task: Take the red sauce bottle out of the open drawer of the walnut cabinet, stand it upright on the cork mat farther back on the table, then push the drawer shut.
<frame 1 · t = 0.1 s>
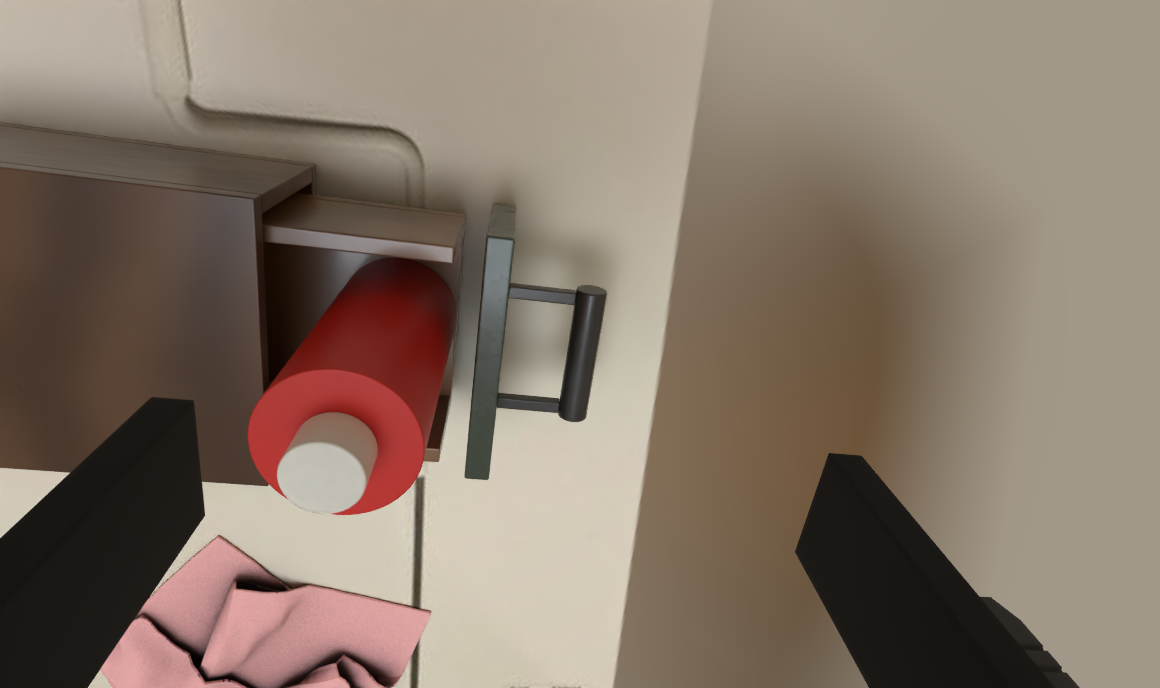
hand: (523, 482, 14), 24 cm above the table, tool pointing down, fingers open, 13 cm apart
cloth: (281, 656, 47), on the table
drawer: (404, 330, 33), point 4 cm above the table, slide at 9.0 cm, touching sauce bottle
sauce bottle: (399, 312, 35), point 2 cm above the table, touching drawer
cabinet: (165, 273, 35), on the table
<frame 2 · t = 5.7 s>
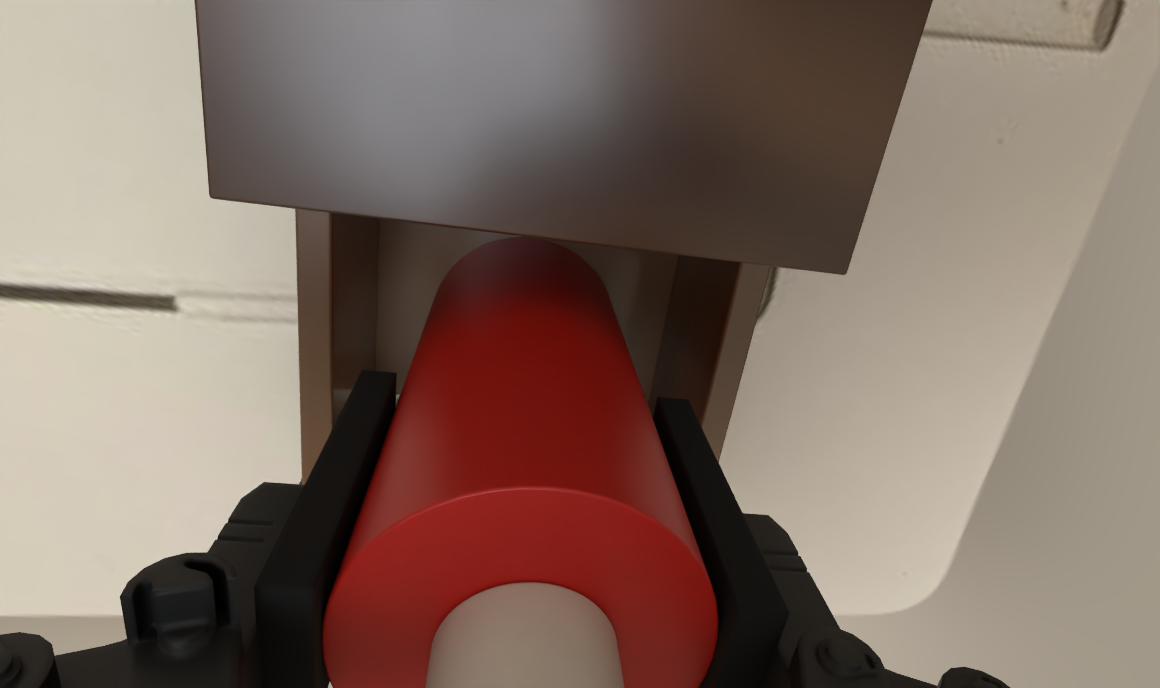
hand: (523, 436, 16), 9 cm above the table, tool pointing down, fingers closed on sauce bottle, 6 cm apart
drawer: (520, 373, 20), point 4 cm above the table, slide at 9.0 cm, touching sauce bottle
sauce bottle: (523, 325, 22), point 2 cm above the table, touching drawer, gripper
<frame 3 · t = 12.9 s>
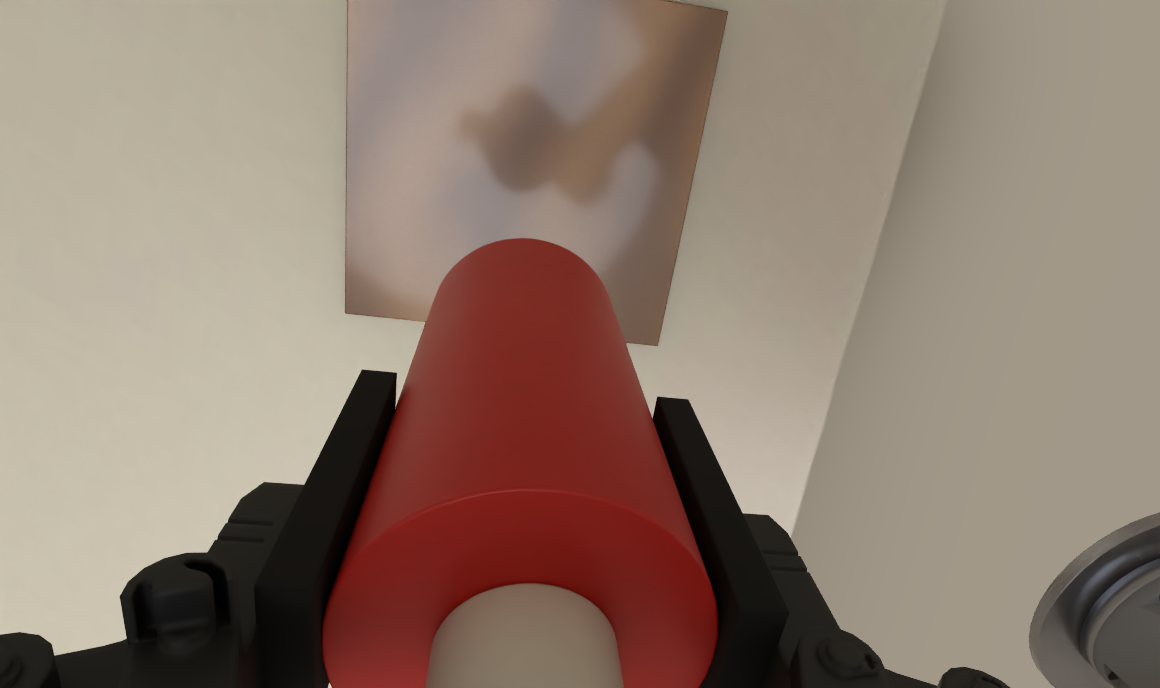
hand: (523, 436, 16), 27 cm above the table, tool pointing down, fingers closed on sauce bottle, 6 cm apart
cork mat: (523, 170, 39), on the table
sauce bottle: (523, 326, 22), point 20 cm above the table, touching gripper
when the fingers open (8 cm above the table, at t = 20.2 s): sauce bottle stays where it is, resting on cork mat.
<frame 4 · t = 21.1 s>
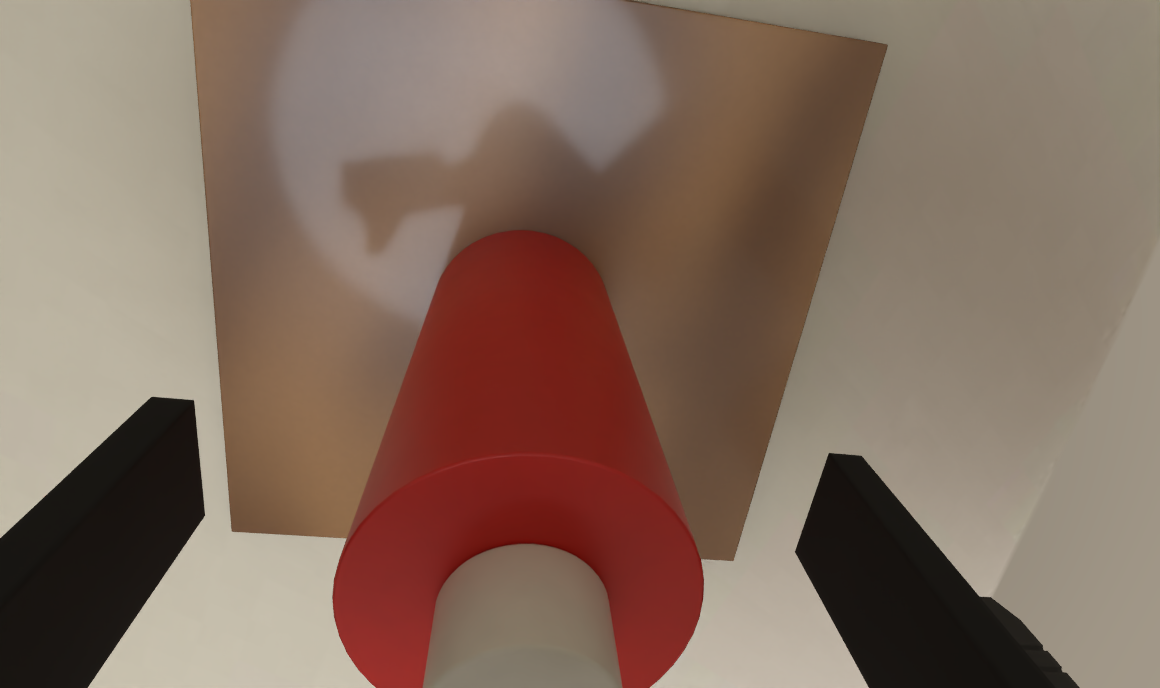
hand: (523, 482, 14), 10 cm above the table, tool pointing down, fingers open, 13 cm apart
cork mat: (522, 308, 23), on the table
sauce bottle: (521, 316, 23), point 1 cm above the table, touching cork mat
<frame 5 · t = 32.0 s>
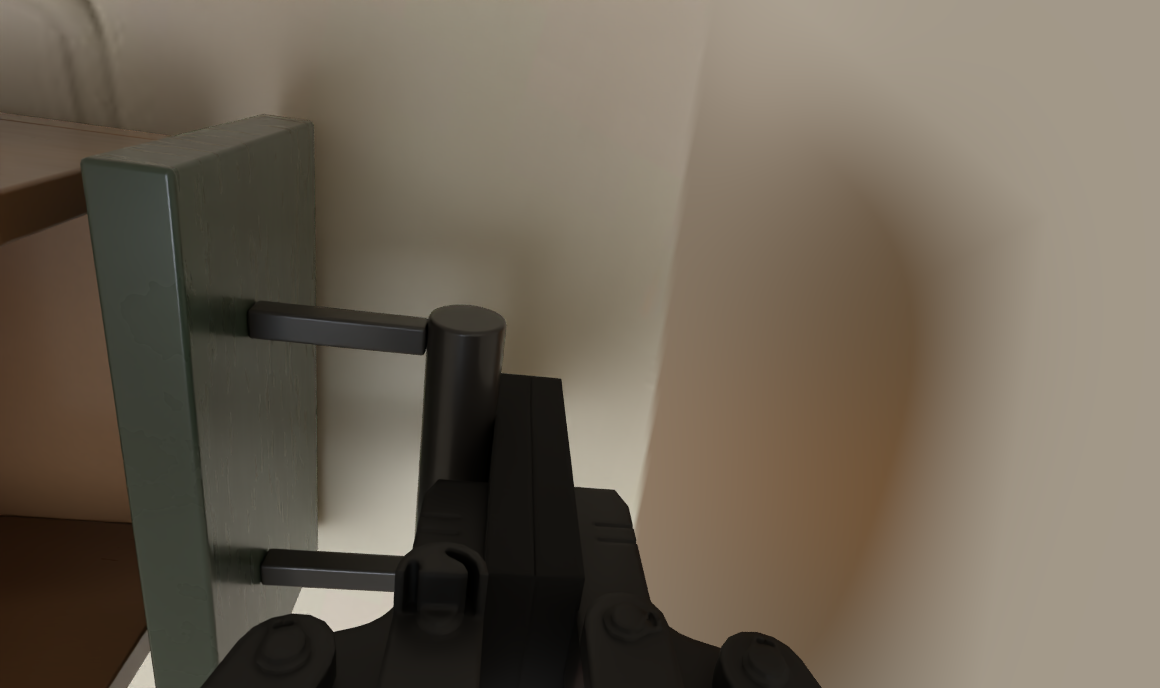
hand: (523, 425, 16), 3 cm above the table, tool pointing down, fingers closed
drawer: (28, 411, 14), point 4 cm above the table, slide at 9.0 cm, touching gripper
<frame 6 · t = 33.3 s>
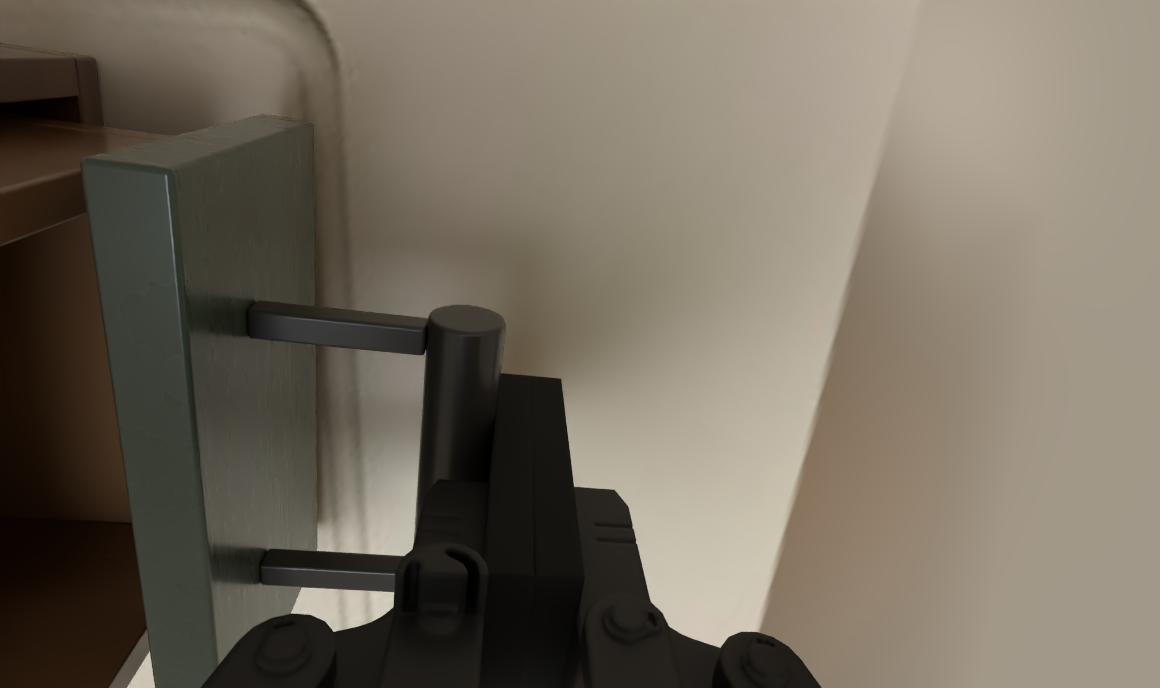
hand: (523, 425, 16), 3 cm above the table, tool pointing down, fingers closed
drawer: (28, 411, 14), point 4 cm above the table, slide at 3.8 cm, touching gripper
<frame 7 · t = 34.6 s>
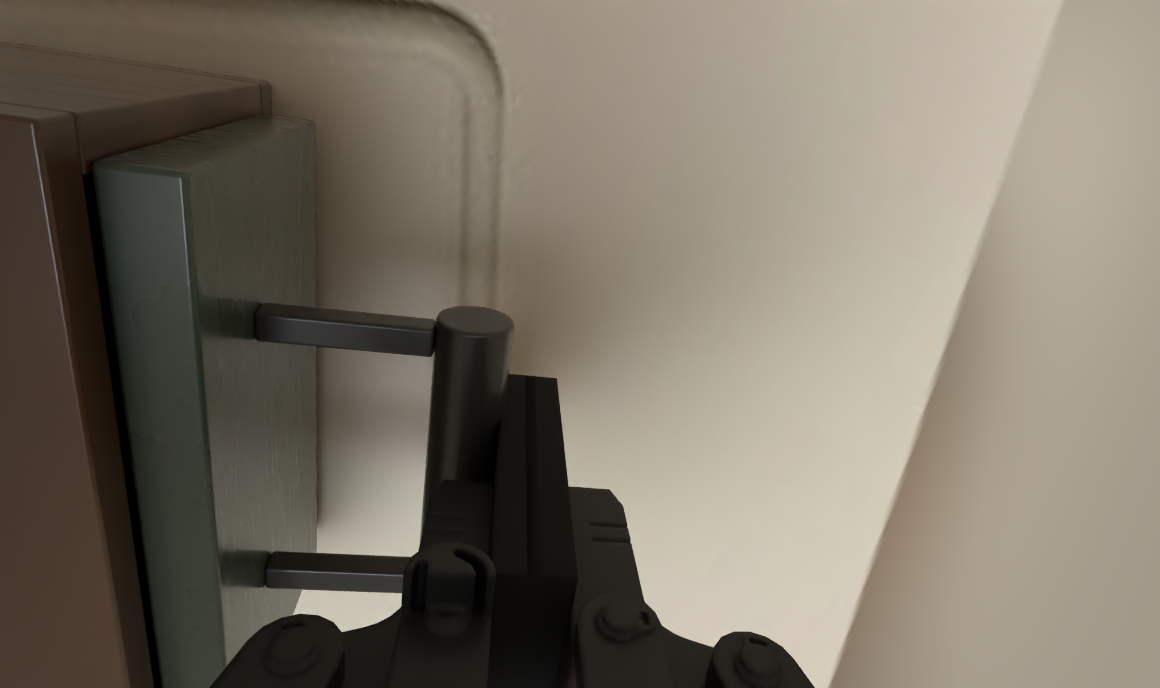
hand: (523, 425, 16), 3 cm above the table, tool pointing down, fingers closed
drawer: (26, 415, 14), point 4 cm above the table, slide at 0.0 cm, touching cabinet, gripper
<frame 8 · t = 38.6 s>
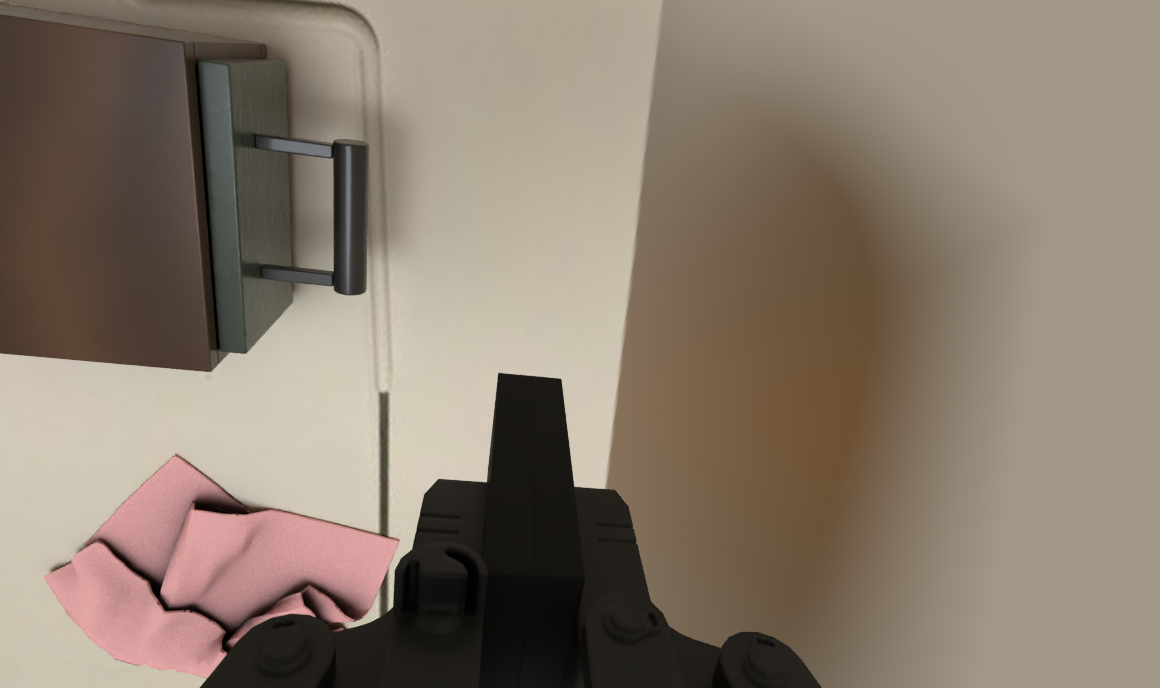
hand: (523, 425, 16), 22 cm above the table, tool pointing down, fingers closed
cloth: (245, 587, 46), on the table
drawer: (155, 191, 30), point 4 cm above the table, slide at 0.0 cm, touching cabinet
cabinet: (111, 164, 34), on the table
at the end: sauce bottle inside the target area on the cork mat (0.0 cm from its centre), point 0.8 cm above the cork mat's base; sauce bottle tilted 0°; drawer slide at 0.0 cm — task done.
